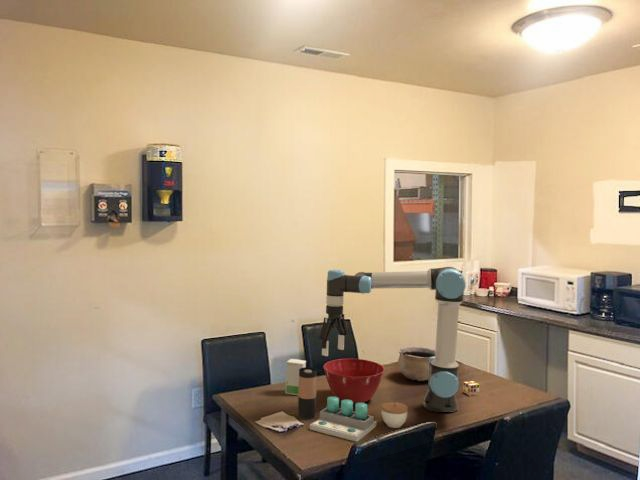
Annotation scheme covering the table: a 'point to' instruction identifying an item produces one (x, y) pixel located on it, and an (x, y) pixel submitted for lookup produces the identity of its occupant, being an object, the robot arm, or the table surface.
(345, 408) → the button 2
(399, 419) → the lidded jar
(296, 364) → the skincare box
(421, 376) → the ceramic bowl
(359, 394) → the mixing bowl
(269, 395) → the table surface
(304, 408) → the travel mug
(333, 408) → the button
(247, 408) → the table surface
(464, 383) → the rubik's cube
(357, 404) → the button
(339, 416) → the button panel
